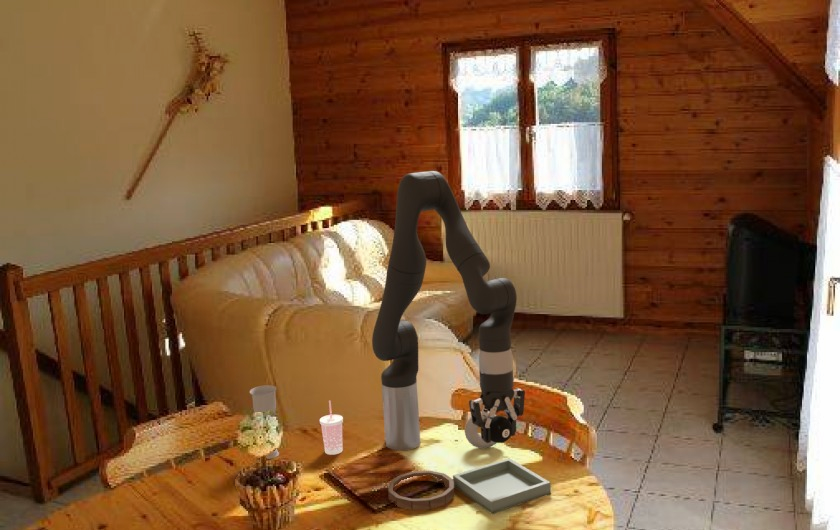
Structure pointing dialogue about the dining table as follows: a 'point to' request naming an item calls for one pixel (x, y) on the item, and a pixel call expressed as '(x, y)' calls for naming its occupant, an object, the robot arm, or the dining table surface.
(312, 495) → the dining table surface
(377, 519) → the dining table surface
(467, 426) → the donut
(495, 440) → the billiard ball
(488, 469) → the tray
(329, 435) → the beverage cup
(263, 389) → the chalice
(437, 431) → the dining table surface
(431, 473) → the walnut ring
